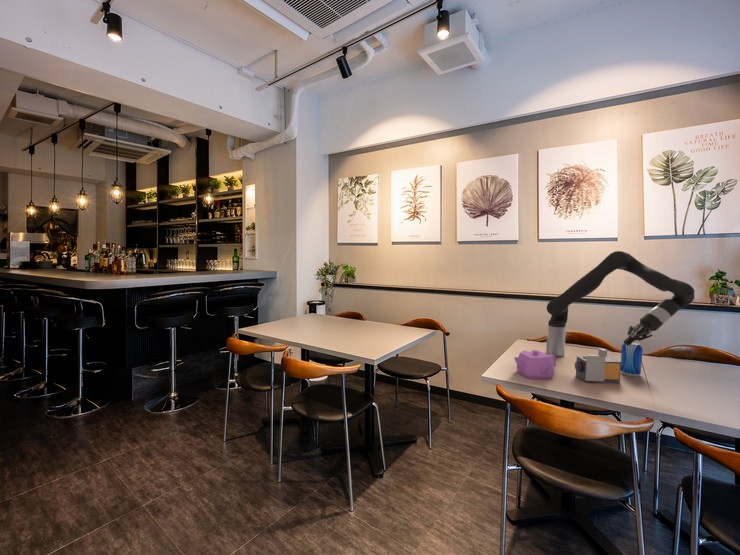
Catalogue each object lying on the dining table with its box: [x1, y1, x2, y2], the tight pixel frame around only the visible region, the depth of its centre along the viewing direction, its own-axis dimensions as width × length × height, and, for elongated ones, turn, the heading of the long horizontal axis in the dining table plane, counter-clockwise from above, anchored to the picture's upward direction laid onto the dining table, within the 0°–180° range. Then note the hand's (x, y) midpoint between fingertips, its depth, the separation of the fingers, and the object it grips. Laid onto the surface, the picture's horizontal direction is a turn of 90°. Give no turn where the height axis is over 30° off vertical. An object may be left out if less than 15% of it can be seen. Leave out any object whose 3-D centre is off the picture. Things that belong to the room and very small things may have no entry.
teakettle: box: [513, 349, 556, 380], centre depth 175 cm, size 17×17×12 cm
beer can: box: [620, 341, 643, 378], centre depth 177 cm, size 8×8×16 cm
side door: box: [585, 348, 608, 381], centre depth 164 cm, size 8×3×15 cm, turn 86°
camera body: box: [574, 355, 622, 384], centre depth 169 cm, size 18×8×11 cm, turn 86°
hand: (625, 343), depth 163 cm, fingers closed
